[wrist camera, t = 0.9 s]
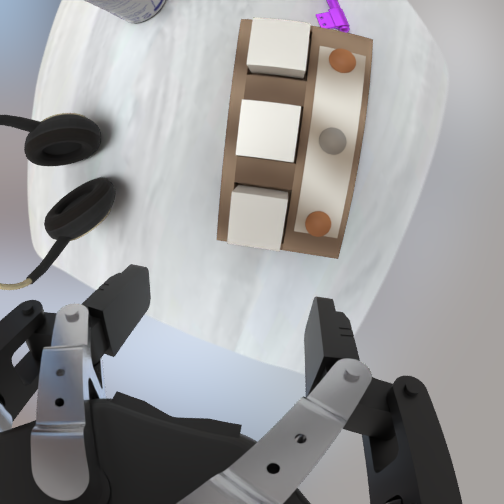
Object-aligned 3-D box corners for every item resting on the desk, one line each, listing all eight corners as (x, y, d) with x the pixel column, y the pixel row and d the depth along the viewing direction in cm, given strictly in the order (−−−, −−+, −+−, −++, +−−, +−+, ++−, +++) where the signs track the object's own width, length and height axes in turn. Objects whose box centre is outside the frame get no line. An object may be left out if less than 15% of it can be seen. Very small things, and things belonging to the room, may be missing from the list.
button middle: (247, 103, 20) (241, 99, 18) (299, 110, 20) (301, 106, 17) (242, 152, 22) (235, 154, 19) (292, 159, 22) (293, 162, 19)
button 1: (238, 184, 23) (231, 191, 21) (287, 191, 23) (287, 199, 20) (233, 230, 25) (227, 243, 22) (280, 238, 25) (279, 251, 22)
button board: (246, 30, 20) (240, 17, 16) (364, 48, 19) (374, 37, 16) (223, 229, 28) (215, 241, 25) (333, 246, 27) (338, 261, 24)
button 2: (257, 30, 18) (253, 17, 15) (308, 35, 17) (310, 23, 15) (251, 72, 19) (246, 64, 17) (303, 78, 19) (305, 70, 16)
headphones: (86, 235, 30) (-34, 325, 12) (57, 124, 25) (-84, 155, 7) (140, 220, 29) (0, 331, 10) (108, 94, 23) (-60, 97, 5)
